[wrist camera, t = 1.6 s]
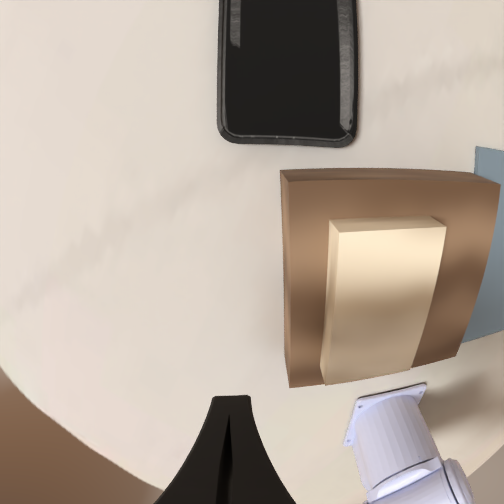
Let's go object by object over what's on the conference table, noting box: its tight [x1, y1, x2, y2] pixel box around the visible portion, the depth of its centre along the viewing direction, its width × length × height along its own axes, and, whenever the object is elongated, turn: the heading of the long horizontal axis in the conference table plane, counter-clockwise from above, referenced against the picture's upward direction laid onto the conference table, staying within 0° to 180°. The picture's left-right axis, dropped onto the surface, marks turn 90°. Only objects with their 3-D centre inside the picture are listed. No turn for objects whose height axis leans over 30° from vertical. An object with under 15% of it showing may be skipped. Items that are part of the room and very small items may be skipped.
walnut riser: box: [280, 168, 501, 388], centre depth 18 cm, size 14×14×4 cm
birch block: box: [320, 216, 446, 385], centre depth 16 cm, size 10×6×2 cm, turn 4°
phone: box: [217, 0, 358, 148], centre depth 13 cm, size 8×1×15 cm
